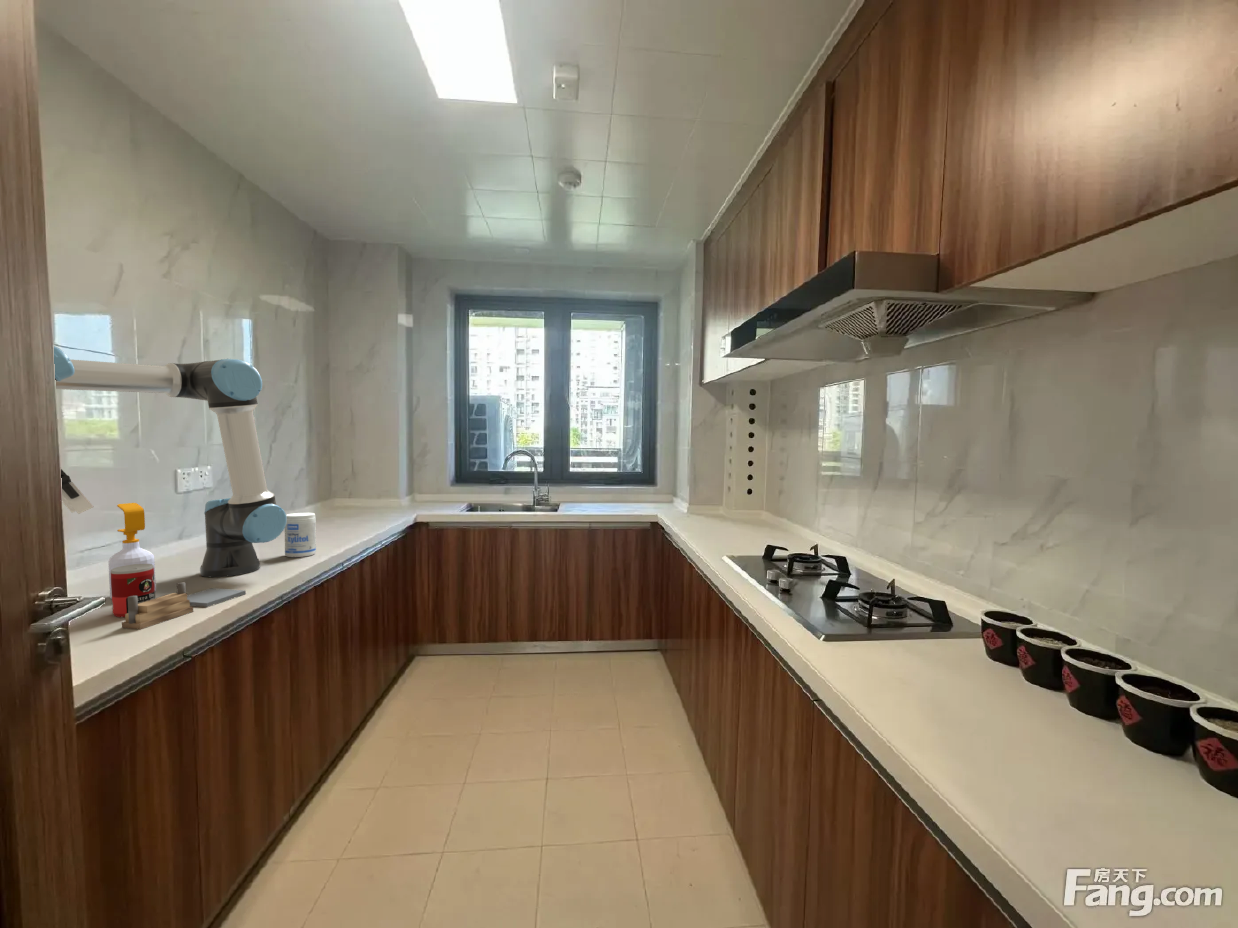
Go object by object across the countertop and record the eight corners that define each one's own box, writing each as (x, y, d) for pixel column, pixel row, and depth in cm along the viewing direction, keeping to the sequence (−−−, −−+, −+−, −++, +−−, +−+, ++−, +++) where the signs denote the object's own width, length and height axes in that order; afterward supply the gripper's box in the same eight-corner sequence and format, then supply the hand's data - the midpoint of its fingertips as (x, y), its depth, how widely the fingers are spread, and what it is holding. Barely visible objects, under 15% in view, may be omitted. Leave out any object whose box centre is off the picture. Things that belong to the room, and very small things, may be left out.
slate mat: (211, 591, 145) (211, 588, 145) (245, 594, 143) (245, 590, 143) (170, 604, 134) (170, 600, 134) (207, 606, 132) (206, 603, 132)
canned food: (130, 618, 124) (128, 572, 123) (103, 616, 125) (101, 570, 125) (164, 608, 131) (162, 564, 131) (138, 606, 133) (136, 562, 132)
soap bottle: (145, 588, 148) (141, 500, 146) (162, 592, 144) (158, 502, 142) (103, 597, 140) (98, 504, 138) (120, 602, 136) (115, 506, 134)
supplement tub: (286, 559, 183) (284, 517, 182) (284, 554, 191) (282, 513, 190) (318, 555, 188) (316, 514, 188) (315, 550, 196) (313, 511, 195)
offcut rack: (177, 610, 130) (175, 581, 129) (194, 611, 129) (192, 582, 128) (120, 628, 118) (119, 596, 117) (139, 629, 117) (137, 598, 116)
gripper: (-14, 439, 118) (57, 518, 126) (-14, 430, 102) (67, 521, 110) (29, 424, 123) (95, 500, 131) (36, 413, 107) (110, 501, 115)
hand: (82, 510), depth 120 cm, fingers open, 13 cm apart
